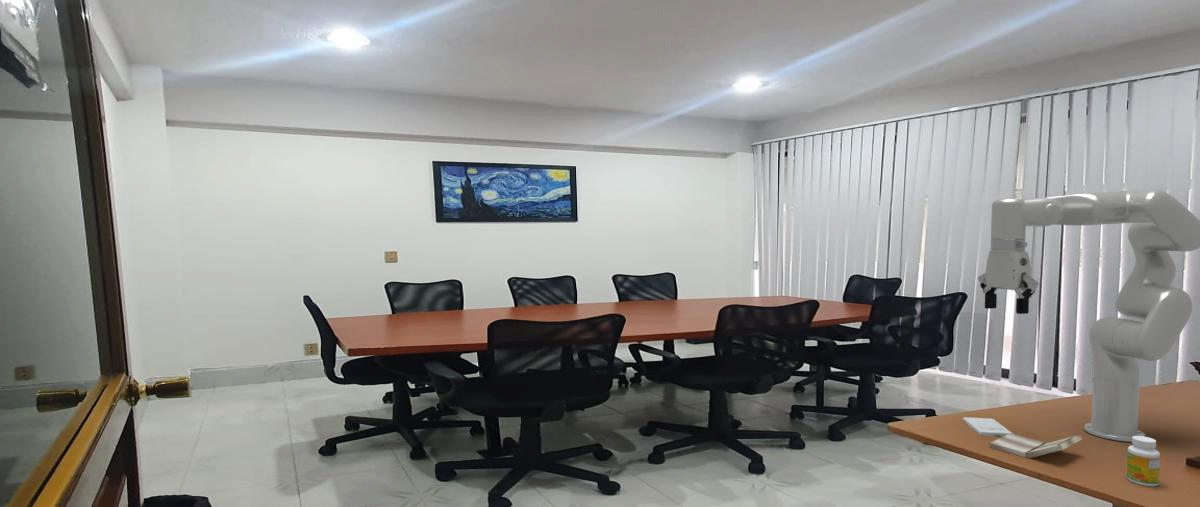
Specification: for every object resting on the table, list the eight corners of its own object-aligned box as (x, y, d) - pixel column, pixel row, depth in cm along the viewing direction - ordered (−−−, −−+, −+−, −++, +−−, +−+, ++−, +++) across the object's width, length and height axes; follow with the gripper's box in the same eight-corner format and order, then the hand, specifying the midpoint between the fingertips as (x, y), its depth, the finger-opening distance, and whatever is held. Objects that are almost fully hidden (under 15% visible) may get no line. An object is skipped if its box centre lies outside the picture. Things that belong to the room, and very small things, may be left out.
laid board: (1010, 437, 163) (1010, 433, 163) (1048, 447, 156) (1048, 442, 156) (989, 447, 156) (989, 442, 156) (1027, 458, 149) (1027, 453, 149)
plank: (1049, 447, 155) (1046, 442, 156) (1082, 438, 150) (1079, 433, 150) (1029, 458, 149) (1026, 452, 149) (1063, 449, 143) (1059, 444, 143)
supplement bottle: (1120, 477, 137) (1121, 435, 137) (1141, 476, 138) (1143, 434, 137) (1143, 487, 132) (1144, 443, 132) (1165, 486, 133) (1167, 442, 132)
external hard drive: (993, 424, 176) (1014, 439, 164) (962, 422, 177) (980, 437, 165) (993, 418, 176) (1014, 433, 163) (962, 417, 177) (980, 431, 165)
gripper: (1050, 247, 151) (1048, 315, 152) (992, 244, 168) (990, 306, 169) (1025, 247, 150) (1023, 316, 151) (969, 245, 167) (967, 307, 168)
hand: (1005, 310), depth 160 cm, fingers open, 9 cm apart
